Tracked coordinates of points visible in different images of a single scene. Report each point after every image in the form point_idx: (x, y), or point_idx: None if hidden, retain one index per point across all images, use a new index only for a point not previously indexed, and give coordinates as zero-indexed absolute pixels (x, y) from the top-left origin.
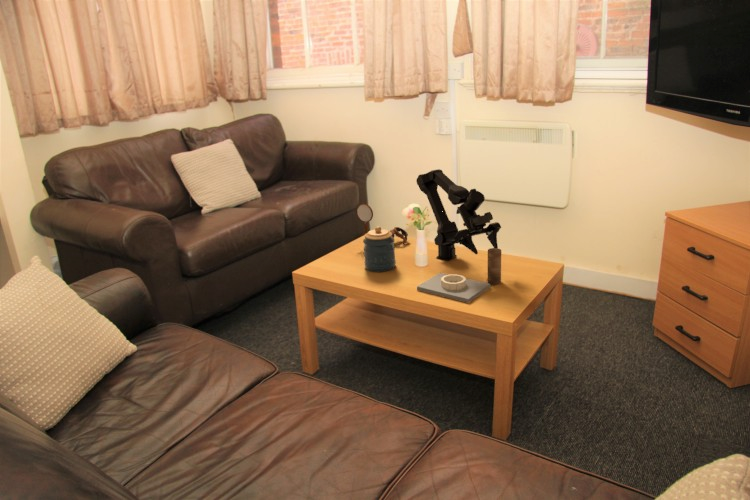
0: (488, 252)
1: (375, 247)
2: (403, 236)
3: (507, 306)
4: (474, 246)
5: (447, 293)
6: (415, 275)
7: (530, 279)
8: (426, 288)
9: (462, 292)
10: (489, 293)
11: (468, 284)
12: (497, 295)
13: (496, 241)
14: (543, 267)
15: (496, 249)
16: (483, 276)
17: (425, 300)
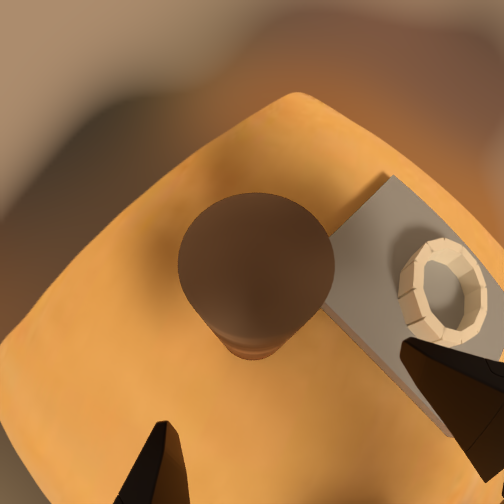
0: (329, 251)
1: None
2: None
3: (278, 136)
4: (461, 362)
5: (451, 232)
6: None
7: (93, 305)
8: (499, 288)
9: (411, 223)
10: None
11: (387, 288)
12: None
13: (133, 479)
14: (16, 387)
15: (223, 276)
16: (277, 416)
17: (485, 238)
